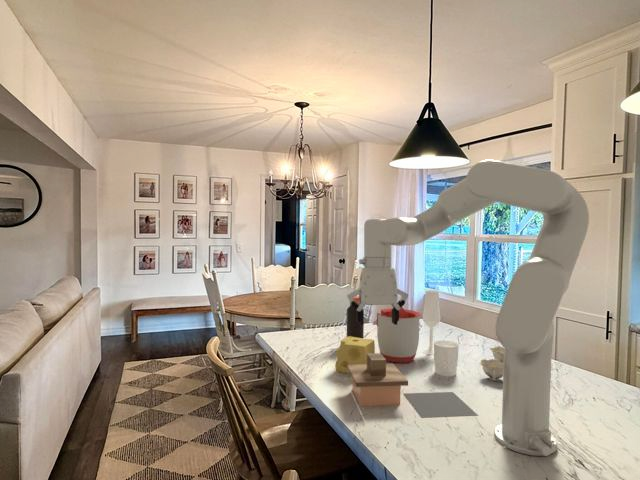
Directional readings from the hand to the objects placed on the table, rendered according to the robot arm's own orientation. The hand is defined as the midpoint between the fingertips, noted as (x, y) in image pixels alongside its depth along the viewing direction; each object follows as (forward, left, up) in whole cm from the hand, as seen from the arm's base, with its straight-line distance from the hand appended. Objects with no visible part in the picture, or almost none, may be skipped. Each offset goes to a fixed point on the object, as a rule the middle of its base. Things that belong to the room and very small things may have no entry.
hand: (377, 324), depth 114 cm
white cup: (+17, -28, -21) cm, 39 cm away
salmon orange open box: (0, 0, -21) cm, 21 cm away
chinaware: (+16, -50, -21) cm, 56 cm away
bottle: (+50, -4, -21) cm, 55 cm away
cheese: (+23, +1, -21) cm, 32 cm away
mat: (-6, -16, -21) cm, 27 cm away
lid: (0, 0, -15) cm, 15 cm away
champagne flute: (+40, -32, -21) cm, 55 cm away
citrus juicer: (+34, -16, -21) cm, 43 cm away
